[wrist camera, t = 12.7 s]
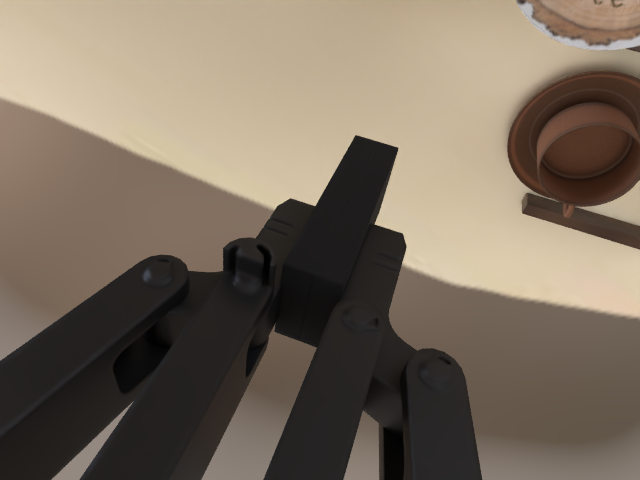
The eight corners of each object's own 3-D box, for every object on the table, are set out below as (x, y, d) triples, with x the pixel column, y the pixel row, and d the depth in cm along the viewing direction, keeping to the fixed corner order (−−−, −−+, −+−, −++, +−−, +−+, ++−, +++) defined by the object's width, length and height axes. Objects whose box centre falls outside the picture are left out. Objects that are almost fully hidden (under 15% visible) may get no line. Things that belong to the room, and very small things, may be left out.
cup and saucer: (665, 177, 40) (683, 218, 36) (518, 199, 46) (518, 237, 41) (665, 42, 34) (688, 72, 29) (496, 87, 40) (494, 117, 35)
